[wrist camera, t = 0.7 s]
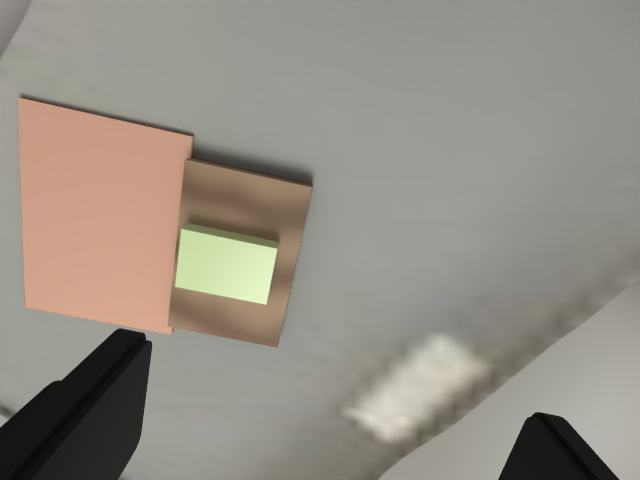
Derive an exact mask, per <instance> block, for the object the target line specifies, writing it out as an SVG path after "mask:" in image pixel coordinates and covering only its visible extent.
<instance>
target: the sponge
mask: <svg viewBox="0 0 640 480" xmlns="http://www.w3.org/2000/svg"><path fill="white" fill-rule="evenodd" d="M279 243H280V242H277V241H272V240H267V239H262V238H257V237H253V236H248V235H243V234H238V233H234V232H229V231H224V230H219V229H214V228H210V227H205V226H200V225H195V224H191V223H188V224H187V225H186V226H184V227H183V228H182V229H181V235H180V245H179V254H178V264H177V273H176V282H175V287H179V288H184V289H189V290H194V291H199V292H204V293H209V294H214V295H219V296H224V297H230V298H235V299H240V300H245V301H250V302H255V303H260V304H265V305H266V304H267V301H268V298H269V294H270V288H271V283H272V278H273V273H274V268H275V263H276V258H277V253H278V248H279Z"/></svg>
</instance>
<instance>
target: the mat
mask: <svg viewBox="0 0 640 480" xmlns="http://www.w3.org/2000/svg"><path fill="white" fill-rule="evenodd" d="M18 114H19V142H20V170H21V198H22V226H23V254H24V282H25V307H27V308H33V309H38V310H43V311H49V312H54V313H59V314H65V315H70V316H75V317H80V318H86V319H91V320H96V321H102V322H107V323H112V324H118V325H123V326H128V327H134V328H139V329H144V330H150V331H155V332H160V333H166V334H172V333H173V328H172V327H168V317H169V308H170V298H171V288H172V279H173V269H174V259H175V250H176V240H177V230H178V220H179V211H180V201H181V191H182V182H183V172H184V162H185V159H189V158H192V154H193V145H194V137H193V136H189V135H185V134H180V133H176V132H171V131H167V130H162V129H158V128H153V127H149V126H145V125H140V124H136V123H131V122H127V121H122V120H118V119H114V118H109V117H105V116H100V115H96V114H91V113H87V112H82V111H78V110H74V109H69V108H65V107H60V106H56V105H51V104H47V103H42V102H38V101H34V100H29V99H25V98H18Z"/></svg>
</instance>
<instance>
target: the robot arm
mask: <svg viewBox="0 0 640 480" xmlns="http://www.w3.org/2000/svg"><path fill="white" fill-rule="evenodd" d="M151 351H152V342H151V341H148V340H146V336H145V334H144V333H141V332H136V331H131V330H126V329H121V328H120V329H117V330H116V331H114V332H113V333H112V334H111V335H110V336H109V337H108V338H107V339H106V340H105V341H104V342H103V343H101V344H100V345H99V346H98V347H97V348H96V349H95V350H94V351H93V352H92V353H91V354H90V355H89V356H87V357H86V358H85V359H84V360H83V361H82V362H81V363H80V364H79V365H78V366H77V367H76V368H75V369H73V370H72V371H71V372H70V373H69V374H68V375H67V376H66V377H65V378H64V379H63V380H62V381H60V380H58V381H54V382H52V383H50V384H49V385H48V386H46V387H45V388H44V389H43V390H42V391H41V392H40V393H38V394H37V395H36V396H35V397H34V398H33V399H32V400H31V401H29V402H28V403H27V404H26V405H25V406H24V407H23V408H22V409H21V410H19V411H18V412H17V413H16V414H15V415H14V416H13V417H12V418H11V419H9V420H8V421H7V422H6V423H5V424H4V425H3V426H2V427H1V428H0V480H118V478H119V477H120V475H121V473H122V472H123V470H124V468H125V467H126V465H127V463H128V462H129V460H130V458H131V457H132V455H133V453H134V451H135V450H136V447H137V445H138V443H139V440H140V436H141V431H142V423H143V415H144V407H145V399H146V391H147V383H148V375H149V367H150V359H151ZM498 480H619V479H618V478H617V477H616V475H615V474H614V473H613V472H612V471H611V470H610V469H609V468H608V466H607V465H606V464H605V463H604V462H603V461H602V460H601V459H600V458H599V456H598V455H597V454H596V453H595V452H594V451H593V450H592V449H591V447H590V446H589V445H588V444H587V443H586V442H585V441H584V440H583V438H582V437H581V436H580V435H579V434H578V433H577V432H576V431H575V430H574V429H573V427H572V426H571V425H570V424H569V423H568V422H567V421H566V420H565V419H564V418H562V417H560V416H555V415H550V414H545V413H540V412H538V413H535V414H533V415H532V416H531V417H529V418H527V419H526V421H525V422H524V425H523V427H522V429H521V431H520V433H519V435H518V438H517V440H516V442H515V444H514V446H513V449H512V451H511V453H510V455H509V457H508V459H507V462H506V464H505V466H504V468H503V470H502V473H501V475H500V477H499V479H498Z"/></svg>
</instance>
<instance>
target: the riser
mask: <svg viewBox="0 0 640 480" xmlns="http://www.w3.org/2000/svg"><path fill="white" fill-rule="evenodd" d="M311 190H312V184H309V183H305V182H300V181H296V180H291V179H287V178H282V177H278V176H273V175H269V174H264V173H260V172H255V171H251V170H246V169H242V168H237V167H233V166H228V165H224V164H219V163H215V162H210V161H206V160H201V159H196V158H189V159H185V162H184V172H183V182H182V191H181V201H180V211H179V220H178V230H177V240H176V250H175V259H174V269H173V279H172V288H171V298H170V308H169V317H168V327H172V328H178V329H183V330H188V331H194V332H199V333H204V334H209V335H215V336H220V337H225V338H231V339H236V340H241V341H246V342H252V343H257V344H262V345H268V346H273V347H278V343H279V339H280V334H281V329H282V325H283V320H284V315H285V311H286V306H287V301H288V297H289V292H290V288H291V283H292V278H293V274H294V269H295V264H296V260H297V255H298V250H299V246H300V241H301V237H302V232H303V227H304V223H305V218H306V213H307V209H308V204H309V199H310V195H311ZM188 223H191V224H195V225H200V226H205V227H210V228H214V229H219V230H224V231H229V232H234V233H238V234H243V235H248V236H253V237H257V238H262V239H267V240H272V241H277V242H280V243H279V248H278V253H277V258H276V263H275V268H274V273H273V278H272V283H271V288H270V294H269V298H268V301H267V304H266V305H265V304H260V303H255V302H250V301H245V300H240V299H235V298H230V297H224V296H219V295H214V294H209V293H204V292H199V291H194V290H189V289H184V288H179V287H175V282H176V273H177V264H178V254H179V245H180V235H181V229H182V228H183V227H184V226H186V225H187V224H188Z"/></svg>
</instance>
